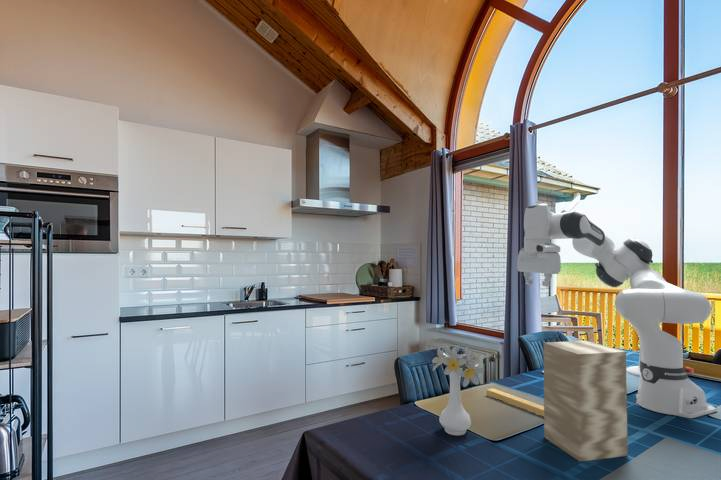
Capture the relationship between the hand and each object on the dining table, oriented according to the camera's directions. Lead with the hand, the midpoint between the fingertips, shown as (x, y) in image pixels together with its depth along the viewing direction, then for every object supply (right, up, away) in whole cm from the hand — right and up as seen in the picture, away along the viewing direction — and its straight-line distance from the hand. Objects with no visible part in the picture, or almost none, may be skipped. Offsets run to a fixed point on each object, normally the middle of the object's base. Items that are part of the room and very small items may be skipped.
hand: (537, 285), depth 146 cm
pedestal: (-6, -38, -41) cm, 56 cm away
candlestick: (+56, -40, +23) cm, 73 cm away
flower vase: (-37, -38, -33) cm, 63 cm away
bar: (-12, -39, -13) cm, 43 cm away
